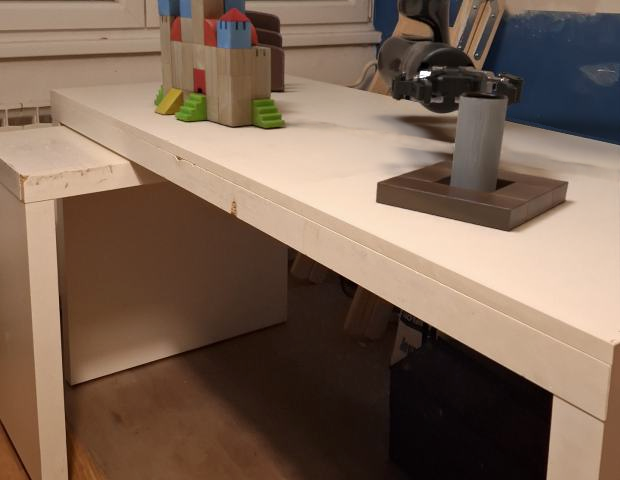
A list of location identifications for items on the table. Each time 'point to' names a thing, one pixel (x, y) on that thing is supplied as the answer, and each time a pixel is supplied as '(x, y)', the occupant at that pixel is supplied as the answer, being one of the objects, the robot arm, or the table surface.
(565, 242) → the table surface
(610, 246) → the table surface
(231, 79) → the block set
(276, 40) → the letter holder
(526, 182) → the socket pad
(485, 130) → the grey cylinder peg
